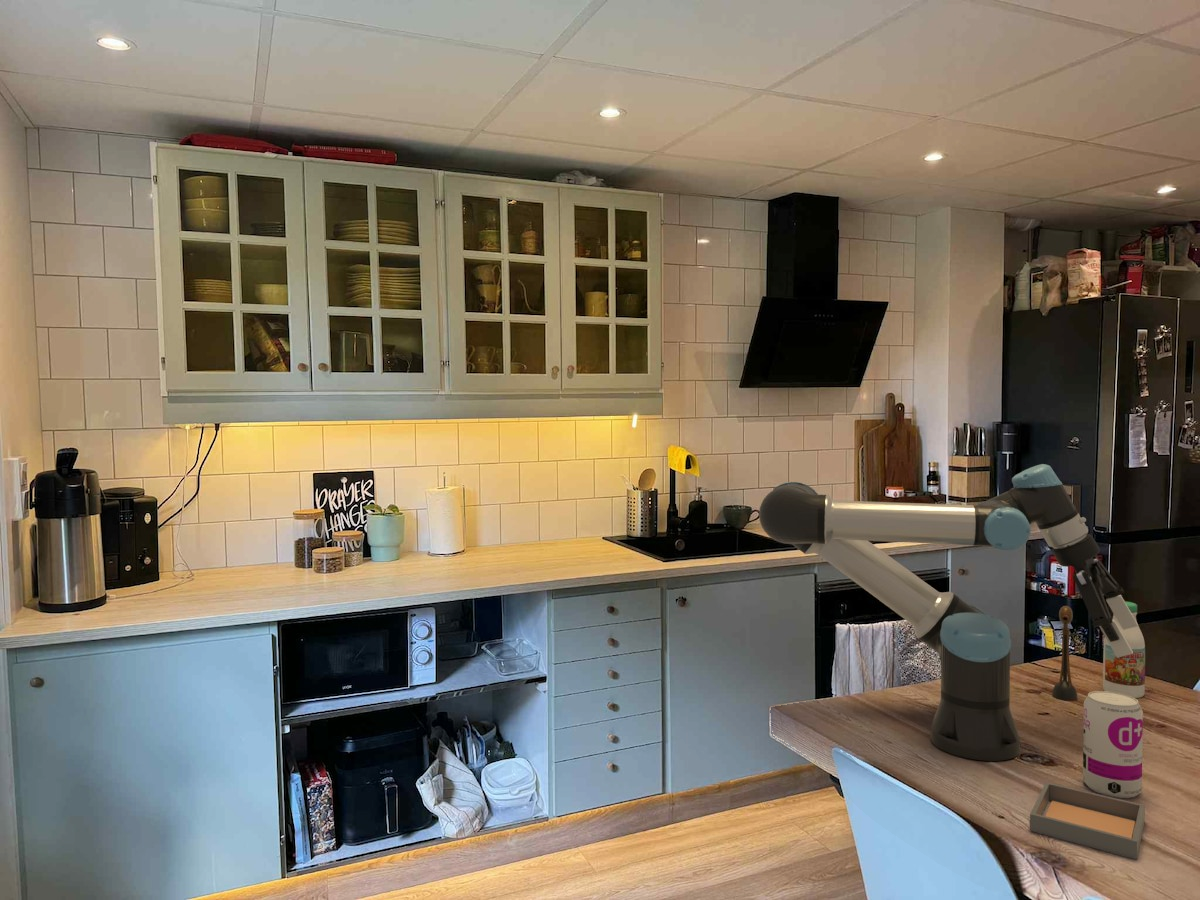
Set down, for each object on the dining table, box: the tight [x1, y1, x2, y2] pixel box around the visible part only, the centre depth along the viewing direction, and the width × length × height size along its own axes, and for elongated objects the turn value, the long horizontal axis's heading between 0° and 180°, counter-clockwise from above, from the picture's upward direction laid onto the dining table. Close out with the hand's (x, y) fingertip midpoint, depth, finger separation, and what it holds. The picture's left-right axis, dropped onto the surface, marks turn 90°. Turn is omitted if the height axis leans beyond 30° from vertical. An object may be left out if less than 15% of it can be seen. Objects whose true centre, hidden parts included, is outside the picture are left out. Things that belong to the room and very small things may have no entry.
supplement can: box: [1082, 690, 1144, 799], centre depth 133 cm, size 8×8×15 cm
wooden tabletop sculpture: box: [1051, 605, 1078, 702], centre depth 175 cm, size 6×5×20 cm
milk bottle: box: [1102, 601, 1146, 699], centre depth 178 cm, size 8×8×20 cm
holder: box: [1029, 781, 1146, 860], centre depth 121 cm, size 13×13×2 cm
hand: (1128, 640), depth 154 cm, fingers open, 13 cm apart
